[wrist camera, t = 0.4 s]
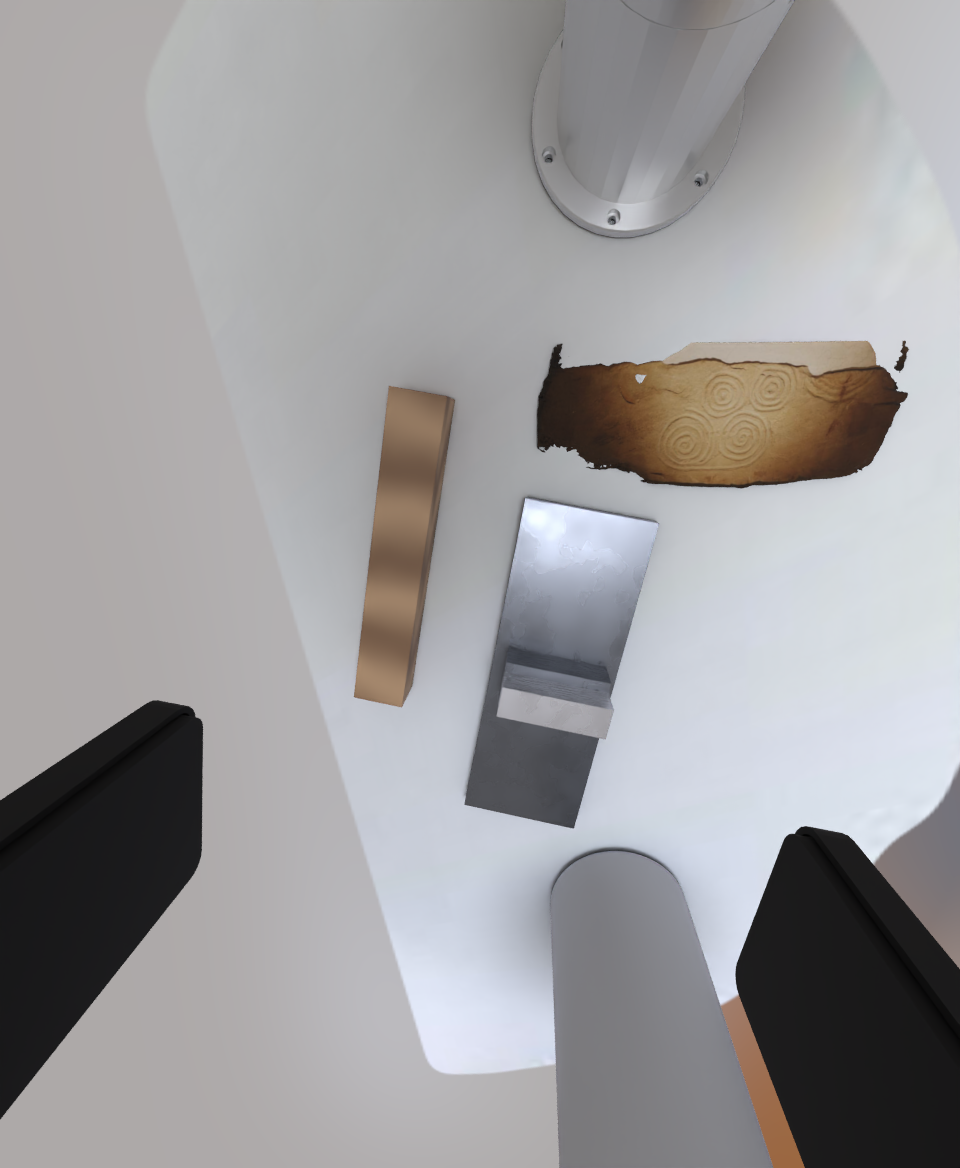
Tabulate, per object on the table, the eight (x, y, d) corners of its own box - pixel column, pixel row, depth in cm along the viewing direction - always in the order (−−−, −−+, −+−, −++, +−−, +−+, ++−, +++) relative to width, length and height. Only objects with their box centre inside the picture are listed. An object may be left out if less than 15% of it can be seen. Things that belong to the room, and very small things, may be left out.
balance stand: (525, 496, 39) (524, 508, 33) (655, 520, 39) (679, 538, 32) (466, 795, 47) (455, 852, 41) (572, 818, 47) (578, 879, 40)
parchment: (915, 341, 34) (924, 338, 33) (882, 490, 37) (890, 491, 36) (541, 342, 37) (541, 339, 36) (534, 481, 39) (534, 482, 38)
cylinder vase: (523, 900, 50) (514, 1323, 26) (610, 822, 47) (690, 1229, 23) (620, 969, 51) (696, 1434, 27) (712, 898, 48) (890, 1360, 24)
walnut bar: (403, 390, 38) (388, 385, 34) (455, 400, 38) (446, 396, 34) (369, 675, 45) (353, 697, 42) (413, 684, 45) (401, 707, 41)
